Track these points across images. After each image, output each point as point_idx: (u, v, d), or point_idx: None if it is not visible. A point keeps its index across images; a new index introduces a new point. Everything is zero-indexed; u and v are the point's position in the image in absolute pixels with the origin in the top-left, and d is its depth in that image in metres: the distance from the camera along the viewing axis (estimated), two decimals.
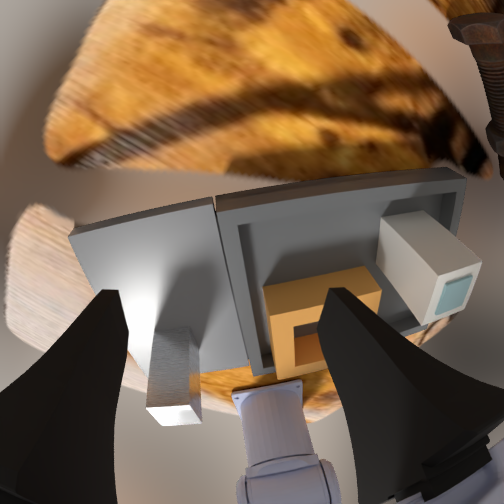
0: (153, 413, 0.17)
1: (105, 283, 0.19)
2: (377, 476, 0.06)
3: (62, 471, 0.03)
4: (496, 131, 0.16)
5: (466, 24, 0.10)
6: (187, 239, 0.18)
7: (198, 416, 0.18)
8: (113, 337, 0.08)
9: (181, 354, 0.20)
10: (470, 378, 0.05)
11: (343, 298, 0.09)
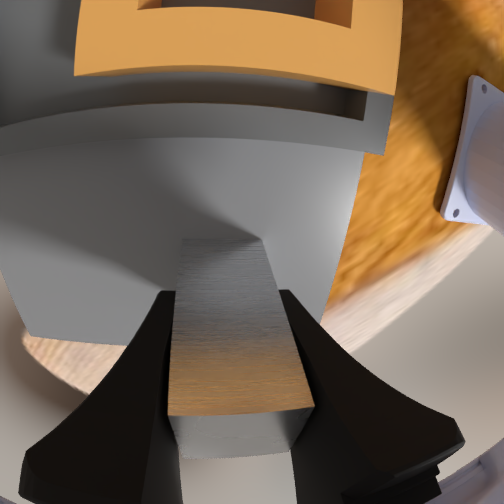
0: (213, 456, 0.07)
1: (84, 326, 0.13)
2: (309, 495, 0.05)
3: (160, 487, 0.04)
4: None
5: None
6: (9, 201, 0.09)
7: (272, 405, 0.05)
8: None
9: None
10: (412, 401, 0.05)
11: (282, 301, 0.09)
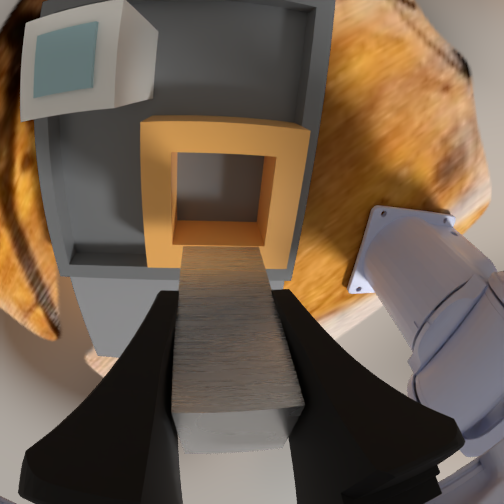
0: (212, 451, 0.07)
1: None
2: (309, 495, 0.05)
3: (160, 487, 0.04)
4: None
5: None
6: (96, 290, 0.20)
7: (266, 404, 0.06)
8: None
9: None
10: (412, 401, 0.05)
11: (282, 301, 0.09)
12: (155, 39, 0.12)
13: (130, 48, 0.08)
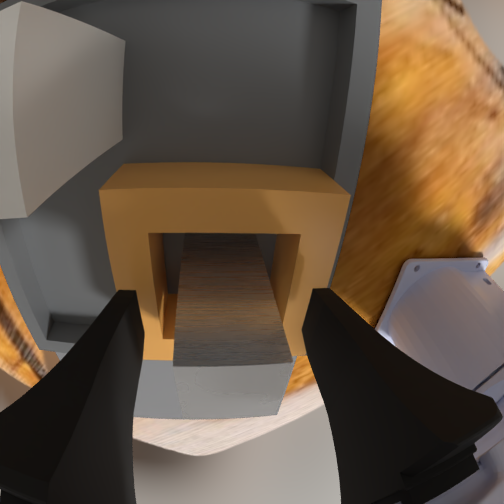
0: (209, 416, 0.08)
1: None
2: (358, 482, 0.06)
3: (89, 477, 0.04)
4: None
5: None
6: None
7: (258, 360, 0.07)
8: (131, 338, 0.08)
9: None
10: (455, 385, 0.05)
11: (326, 299, 0.09)
12: (119, 53, 0.08)
13: (55, 86, 0.04)
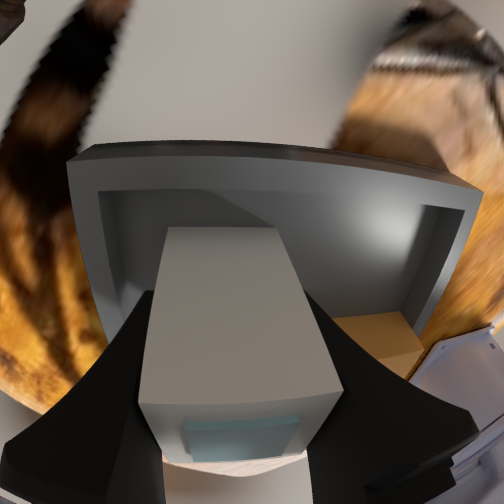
0: None
1: None
2: (327, 491, 0.05)
3: (134, 485, 0.04)
4: None
5: None
6: None
7: None
8: None
9: None
10: (429, 395, 0.05)
11: None
12: None
13: None
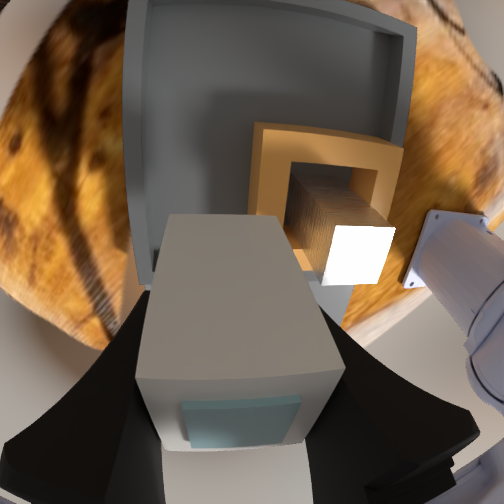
0: (338, 281, 0.13)
1: None
2: (327, 491, 0.05)
3: (133, 485, 0.04)
4: None
5: None
6: None
7: (378, 225, 0.12)
8: None
9: (303, 198, 0.15)
10: (429, 395, 0.05)
11: None
12: None
13: None
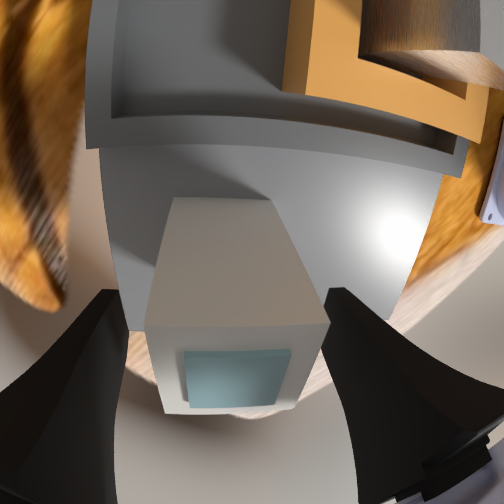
0: (501, 60, 0.03)
1: None
2: (377, 476, 0.06)
3: (62, 471, 0.03)
4: None
5: None
6: (148, 191, 0.11)
7: None
8: (113, 337, 0.08)
9: None
10: (470, 378, 0.05)
11: (343, 298, 0.09)
12: None
13: None
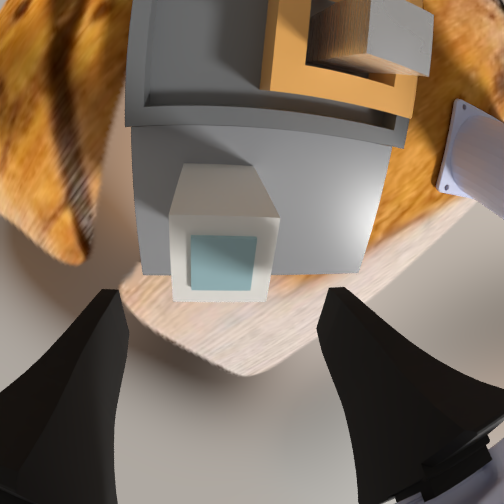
0: (386, 55, 0.08)
1: None
2: (377, 476, 0.06)
3: (62, 471, 0.03)
4: None
5: None
6: (165, 159, 0.16)
7: (415, 6, 0.07)
8: (113, 337, 0.08)
9: (328, 16, 0.10)
10: (470, 378, 0.05)
11: (343, 298, 0.09)
12: None
13: None
